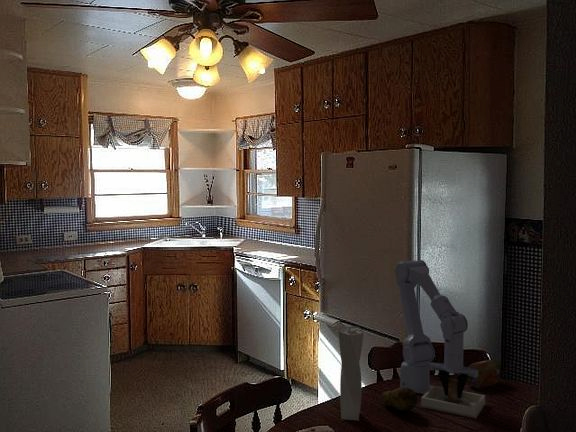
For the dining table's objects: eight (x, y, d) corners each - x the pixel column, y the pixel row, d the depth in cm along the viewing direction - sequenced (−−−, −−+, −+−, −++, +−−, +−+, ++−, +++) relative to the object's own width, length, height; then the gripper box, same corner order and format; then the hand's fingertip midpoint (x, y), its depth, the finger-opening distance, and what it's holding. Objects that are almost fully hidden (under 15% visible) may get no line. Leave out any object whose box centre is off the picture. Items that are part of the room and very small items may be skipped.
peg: (445, 403, 168) (446, 381, 168) (449, 400, 171) (450, 378, 171) (457, 406, 166) (457, 383, 166) (460, 402, 169) (461, 380, 169)
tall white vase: (362, 423, 156) (363, 327, 155) (337, 421, 157) (337, 326, 156) (363, 412, 163) (364, 321, 162) (339, 410, 165) (339, 320, 164)
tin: (471, 390, 182) (471, 365, 182) (464, 387, 185) (464, 363, 184) (502, 383, 189) (502, 359, 189) (494, 380, 192) (495, 357, 191)
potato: (402, 401, 172) (403, 377, 171) (421, 417, 159) (422, 391, 159) (378, 404, 170) (378, 379, 170) (395, 420, 157) (396, 393, 157)
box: (421, 407, 167) (421, 397, 167) (433, 394, 178) (433, 385, 178) (475, 418, 158) (476, 408, 158) (484, 404, 169) (485, 395, 169)
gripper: (427, 352, 168) (426, 395, 169) (474, 360, 160) (474, 404, 161) (433, 347, 174) (433, 388, 175) (479, 354, 166) (479, 397, 167)
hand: (453, 395), depth 168 cm, fingers closed on peg, 3 cm apart
